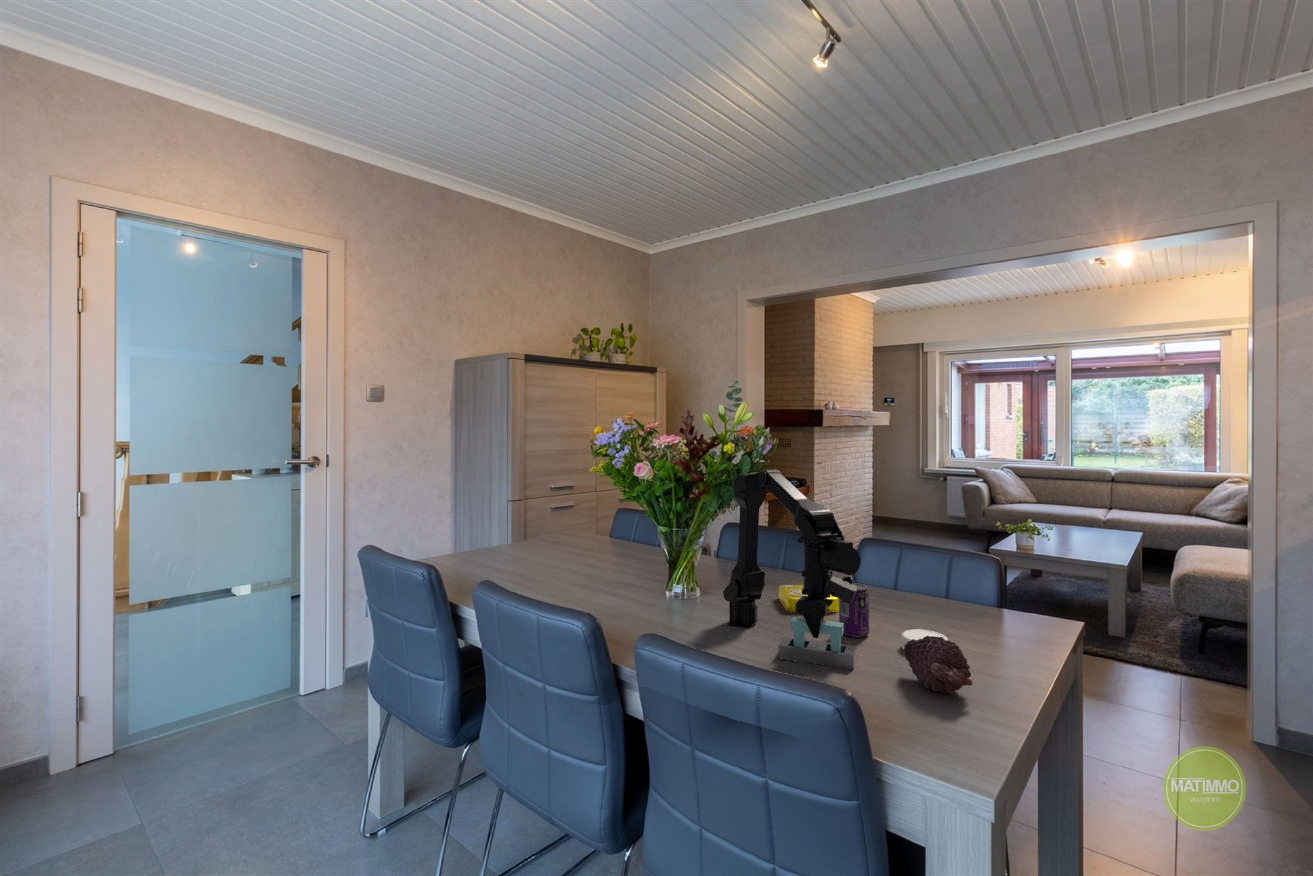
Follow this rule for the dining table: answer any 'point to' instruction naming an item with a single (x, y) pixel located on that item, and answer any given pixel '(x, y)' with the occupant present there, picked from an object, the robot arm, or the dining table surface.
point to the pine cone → (938, 664)
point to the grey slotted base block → (818, 653)
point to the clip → (826, 628)
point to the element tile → (794, 592)
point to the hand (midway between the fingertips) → (816, 635)
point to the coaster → (918, 635)
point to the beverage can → (856, 613)
